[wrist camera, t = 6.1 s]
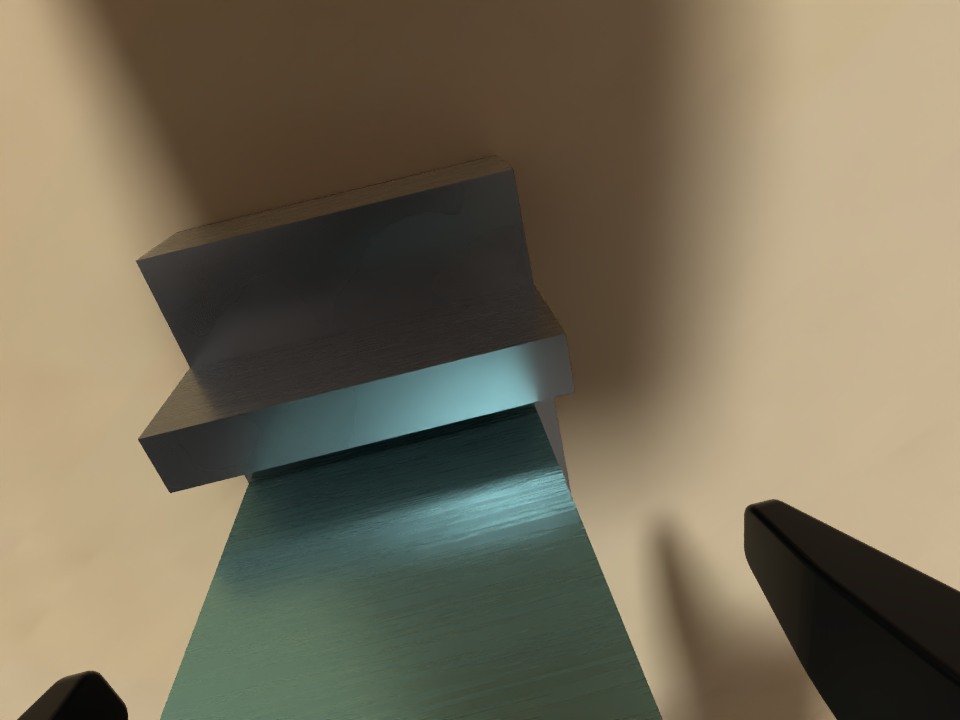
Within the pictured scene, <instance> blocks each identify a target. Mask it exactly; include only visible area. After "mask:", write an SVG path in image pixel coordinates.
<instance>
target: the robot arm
mask: <svg viewBox="0 0 960 720" xmlns="http://www.w3.org/2000/svg"><path fill="white" fill-rule="evenodd" d="M744 551H745V555H746V559H747V561H748V564H749V566H750V568H751V570H752V572H753V574H754V576H755V578H756V579H757V581H758V583H759V585H760V587H761V589H762V591H763V593H764V595H765V596H766V598H767V600H768V602H769V604H770V606H771V608H772V610H773V612H774V613H775V615H776V617H777V619H778V621H779V623H780V625H781V627H782V628H783V630H784V632H785V634H786V636H787V638H788V640H789V642H790V644H791V645H792V647H793V649H794V651H795V653H796V655H797V657H798V658H799V660H800V662H801V664H802V666H803V667H804V669H805V671H806V673H807V675H808V676H809V678H810V679H811V681H812V682H813V684H814V686H815V687H816V689H817V690H818V692H819V694H820V695H821V697H822V698H823V700H824V701H825V703H826V704H827V706H828V707H829V709H830V710H831V712H832V713H833V715H834V716H835V718H836V719H837V720H960V591H958V590H956V589H954V588H952V587H950V586H948V585H946V584H944V583H942V582H940V581H938V580H936V579H934V578H932V577H930V576H928V575H926V574H924V573H922V572H920V571H918V570H916V569H914V568H912V567H910V566H908V565H907V564H905V563H903V562H901V561H899V560H897V559H895V558H893V557H891V556H889V555H887V554H885V553H883V552H881V551H879V550H877V549H875V548H873V547H871V546H869V545H867V544H865V543H863V542H861V541H859V540H857V539H855V538H853V537H851V536H849V535H847V534H845V533H843V532H841V531H839V530H837V529H835V528H833V527H831V526H829V525H828V524H826V523H824V522H822V521H820V520H818V519H816V518H814V517H812V516H810V515H808V514H806V513H804V512H802V511H800V510H798V509H796V508H794V507H792V506H790V505H788V504H786V503H784V502H782V501H779V500H775V499H772V500H767V501H763V502H759V503H755V504H751V505H749V506H747V508H746V509H745V513H744ZM17 720H128V712H127V708H126V705H125V703H124V702H123V701H122V699H121V698H120V697H119V696H118V694H117V693H116V692H115V691H114V690H113V688H112V687H111V686H110V685H109V684H108V682H107V681H106V680H105V679H104V677H103V676H102V675H101V674H100V673H98V672H96V671H86V672H82V673H78V674H74V675H70V676H67V677H64V678H62V679H60V680H59V681H57V682H56V683H55V684H54V685H53V686H52V687H50V688H49V689H48V690H47V691H46V692H45V693H44V694H43V695H42V696H41V697H40V698H39V699H38V700H37V701H36V702H35V703H34V704H33V705H32V706H31V707H30V708H29V709H28V710H27V711H26V712H25V713H24V714H23V715H21V716H20V717H19V718H18V719H17Z"/></svg>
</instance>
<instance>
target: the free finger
mask: <svg viewBox="0 0 960 720" xmlns="http://www.w3.org/2000/svg"><path fill="white" fill-rule="evenodd" d="M160 720H662V717H661V715H660V712H659V710H658V707H657V705H656V703H655V700H654V698H653V695H652V693H651V690H650V688H649V685H648V683H647V680H646V678H645V676H644V673H643V671H642V668H641V666H640V663H639V661H638V658H637V656H636V653H635V651H634V648H633V646H632V644H631V641H630V639H629V636H628V634H627V631H626V629H625V626H624V624H623V621H622V619H621V616H620V614H619V612H618V609H617V607H616V604H615V602H614V599H613V597H612V594H611V592H610V589H609V587H608V585H607V582H606V580H605V577H604V575H603V572H602V570H601V567H600V565H599V562H598V560H597V557H596V555H595V553H594V550H593V548H592V545H591V543H590V540H589V538H588V535H587V533H586V530H585V528H584V525H583V523H582V521H581V518H580V516H579V513H578V511H577V508H576V506H575V503H574V501H573V498H572V496H571V493H570V491H569V489H568V486H567V484H566V481H565V479H564V476H563V474H562V471H561V469H560V466H559V464H558V462H557V459H556V457H555V454H554V452H553V449H552V447H551V444H550V442H549V439H548V437H547V434H546V432H545V430H544V427H543V425H542V422H541V420H540V417H539V415H538V412H537V410H536V407H535V405H534V403H530V404H526V405H522V406H518V407H514V408H510V409H506V410H502V411H498V412H494V413H490V414H486V415H482V416H478V417H474V418H470V419H466V420H462V421H458V422H454V423H450V424H446V425H442V426H438V427H434V428H430V429H426V430H422V431H418V432H413V433H409V434H405V435H401V436H397V437H393V438H389V439H385V440H381V441H377V442H373V443H369V444H365V445H361V446H357V447H353V448H349V449H345V450H341V451H337V452H333V453H329V454H325V455H321V456H317V457H313V458H309V459H305V460H301V461H297V462H293V463H289V464H285V465H281V466H277V467H273V468H269V469H265V470H261V471H257V472H253V474H252V477H251V479H250V482H249V485H248V487H247V490H246V493H245V495H244V498H243V501H242V503H241V506H240V509H239V511H238V514H237V516H236V519H235V522H234V524H233V527H232V530H231V532H230V535H229V538H228V540H227V543H226V546H225V548H224V551H223V554H222V556H221V559H220V562H219V564H218V567H217V570H216V572H215V575H214V577H213V580H212V583H211V585H210V588H209V591H208V593H207V596H206V599H205V601H204V604H203V607H202V609H201V612H200V615H199V617H198V620H197V623H196V625H195V628H194V630H193V633H192V636H191V638H190V641H189V644H188V646H187V649H186V652H185V654H184V657H183V660H182V662H181V665H180V668H179V670H178V673H177V676H176V678H175V681H174V683H173V686H172V689H171V691H170V694H169V697H168V699H167V702H166V705H165V707H164V710H163V713H162V715H161V718H160Z"/></svg>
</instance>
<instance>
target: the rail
mask: <svg viewBox="0 0 960 720" xmlns="http://www.w3.org/2000/svg"><path fill="white" fill-rule="evenodd" d="M136 262H137V264H138V266H139V268H140V270H141V272H142V274H143V276H144V278H145V280H146V282H147V284H148V286H149V288H150V290H151V292H152V293H153V295H154V297H155V299H156V301H157V303H158V305H159V307H160V309H161V311H162V313H163V315H164V317H165V319H166V321H167V323H168V325H169V327H170V329H171V331H172V333H173V335H174V337H175V339H176V341H177V343H178V345H179V347H180V349H181V351H182V353H183V355H184V357H185V358H186V360H187V362H188V364H189V366H190V369H189V370H188V372H187V373H186V374H185V376H184V377H183V378H182V380H181V381H180V382H179V384H178V385H177V387H176V388H175V389H174V391H173V392H172V393H171V395H170V396H169V398H168V399H167V400H166V402H165V403H164V404H163V406H162V407H161V408H160V410H159V411H158V413H157V414H156V415H155V417H154V418H153V419H152V421H151V422H150V424H149V425H148V426H147V428H146V429H145V430H144V432H143V433H142V434H141V436H140V437H139V439H138V440H139V442H140V444H141V445H142V447H143V449H144V450H145V452H146V454H147V455H148V457H149V459H150V460H151V462H152V464H153V465H154V467H155V469H156V470H157V472H158V474H159V475H160V477H161V479H162V481H163V482H164V484H165V486H166V487H167V489H168V491H169V492H170V493H172V492H176V491H180V490H184V489H188V488H192V487H196V486H200V485H204V484H208V483H212V482H217V481H221V480H225V479H229V478H233V477H237V476H241V475H245V477H246V479H247V481H248V483H249V482H250V479H251V477H252V474H253V472H257V471H261V470H265V469H269V468H273V467H277V466H281V465H285V464H289V463H293V462H297V461H301V460H305V459H309V458H313V457H317V456H321V455H325V454H329V453H333V452H337V451H341V450H345V449H349V448H353V447H357V446H361V445H365V444H369V443H373V442H377V441H381V440H385V439H389V438H393V437H397V436H401V435H405V434H409V433H413V432H418V431H422V430H426V429H430V428H434V427H438V426H442V425H446V424H450V423H454V422H458V421H462V420H466V419H470V418H474V417H478V416H482V415H486V414H490V413H494V412H498V411H502V410H506V409H510V408H514V407H518V406H522V405H526V404H530V403H534V405H535V407H536V410H537V412H538V415H539V417H540V420H541V422H542V425H543V427H544V430H545V432H546V434H547V437H548V439H549V442H550V444H551V447H552V449H553V452H554V454H555V457H556V459H557V462H558V464H559V466H560V469H561V471H562V474H563V476H564V479H565V481H566V484H567V486H568V489H569V491H570V486H569V480H568V475H567V469H566V463H565V458H564V452H563V447H562V441H561V435H560V430H559V424H558V418H557V413H556V407H555V402H554V397H558V396H562V395H566V394H570V393H574V392H575V390H574V384H573V377H572V371H571V364H570V358H569V352H568V345H567V339H566V333H565V332H564V330H563V329H562V327H561V326H560V324H559V322H558V321H557V319H556V318H555V316H554V315H553V313H552V312H551V310H550V308H549V307H548V305H547V304H546V302H545V301H544V299H543V298H542V296H541V294H540V293H539V291H538V290H537V288H536V287H535V285H534V284H533V278H532V273H531V267H530V261H529V256H528V250H527V244H526V239H525V233H524V228H523V222H522V216H521V211H520V205H519V200H518V194H517V188H516V183H515V177H514V171H513V169H512V168H511V167H510V166H509V165H507V164H506V163H505V162H504V161H502V160H501V159H500V158H499V157H497V156H492V157H488V158H483V159H479V160H475V161H471V162H467V163H463V164H459V165H454V166H450V167H446V168H442V169H438V170H434V171H430V172H426V173H421V174H417V175H413V176H409V177H405V178H401V179H397V180H392V181H388V182H384V183H380V184H376V185H372V186H368V187H364V188H359V189H355V190H351V191H347V192H343V193H339V194H335V195H330V196H326V197H322V198H318V199H314V200H310V201H306V202H302V203H297V204H293V205H289V206H285V207H281V208H277V209H273V210H269V211H264V212H260V213H256V214H252V215H248V216H244V217H240V218H235V219H231V220H227V221H223V222H219V223H215V224H211V225H207V226H202V227H198V228H194V229H190V230H186V231H182V232H178V233H176V234H174V235H173V236H171V237H170V238H168V239H167V240H165V241H164V242H162V243H161V244H159V245H158V246H157V247H155V248H154V249H152V250H151V251H149V252H148V253H146V254H145V255H143V256H142V257H141V258H139V259H138V260H136ZM570 493H571V491H570Z"/></svg>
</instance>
